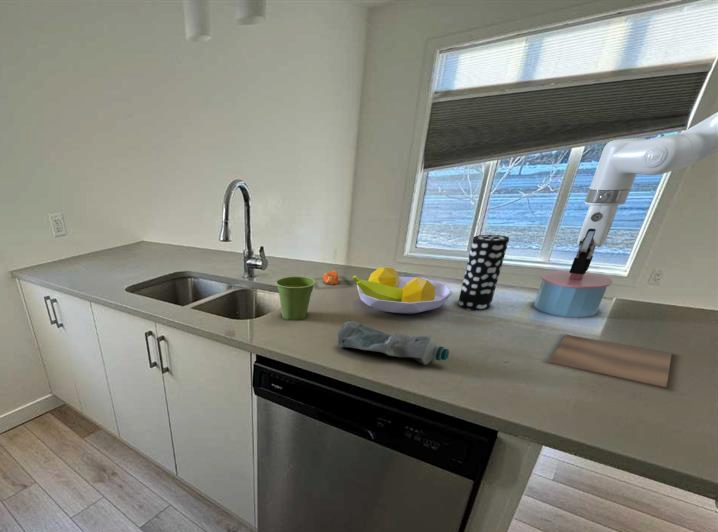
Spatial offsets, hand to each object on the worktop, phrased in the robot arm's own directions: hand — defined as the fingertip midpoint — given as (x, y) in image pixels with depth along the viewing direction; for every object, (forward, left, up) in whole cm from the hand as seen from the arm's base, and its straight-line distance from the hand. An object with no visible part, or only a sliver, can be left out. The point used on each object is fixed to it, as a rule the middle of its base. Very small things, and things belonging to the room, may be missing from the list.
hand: (578, 271), depth 108 cm
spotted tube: (+21, -7, -11) cm, 25 cm away
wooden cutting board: (+12, +30, -11) cm, 34 cm away
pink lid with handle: (0, 0, -2) cm, 2 cm away
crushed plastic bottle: (+56, +21, -11) cm, 61 cm away
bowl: (0, 0, -11) cm, 11 cm away
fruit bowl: (+42, -12, -11) cm, 45 cm away
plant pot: (+74, -9, -11) cm, 75 cm away
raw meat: (+55, -40, -10) cm, 69 cm away
